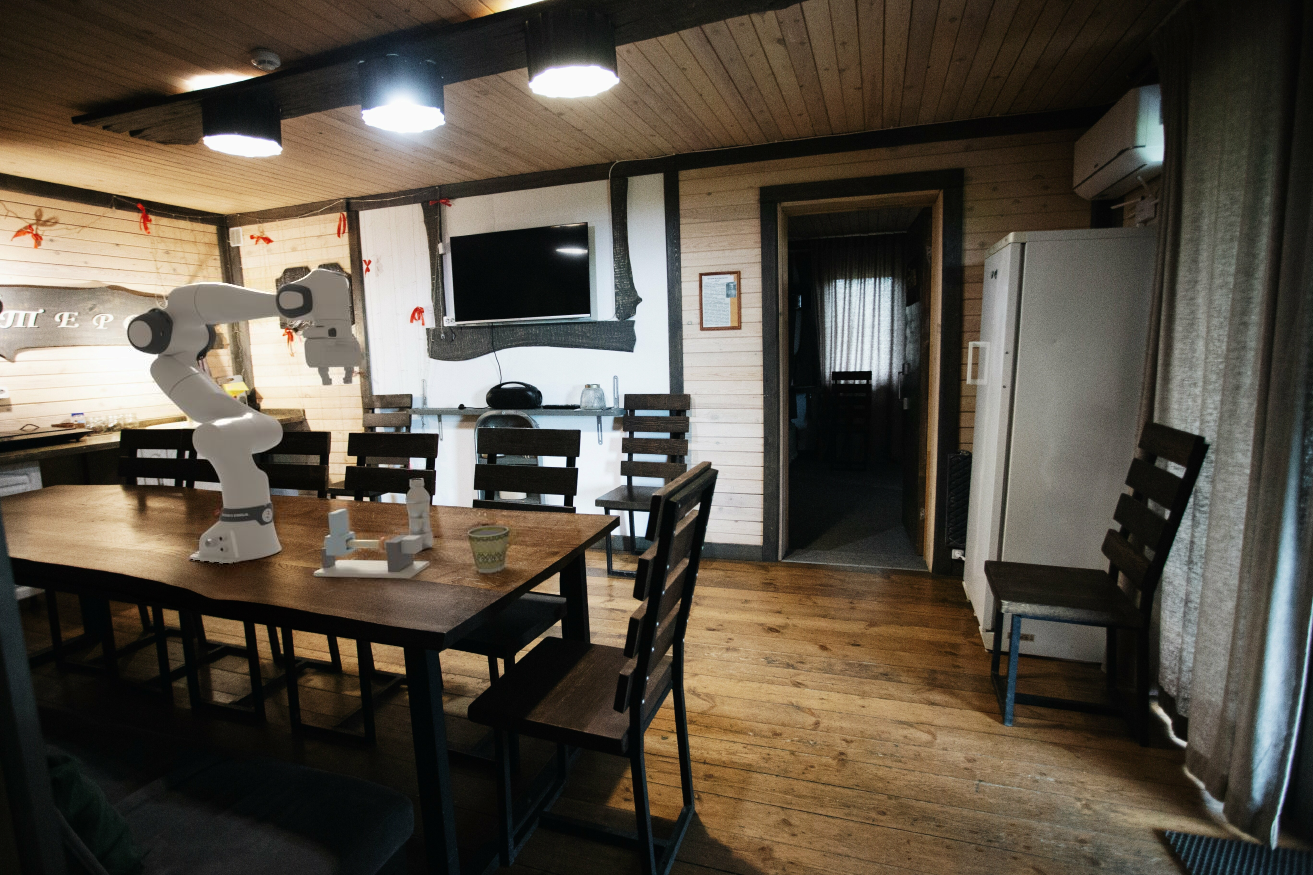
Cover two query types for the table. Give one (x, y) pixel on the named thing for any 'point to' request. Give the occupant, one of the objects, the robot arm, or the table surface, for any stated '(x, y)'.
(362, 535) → the table surface
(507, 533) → the ceramic cup
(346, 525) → the pale blue stacked blocks
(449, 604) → the table surface
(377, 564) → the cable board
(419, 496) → the plastic bottle
